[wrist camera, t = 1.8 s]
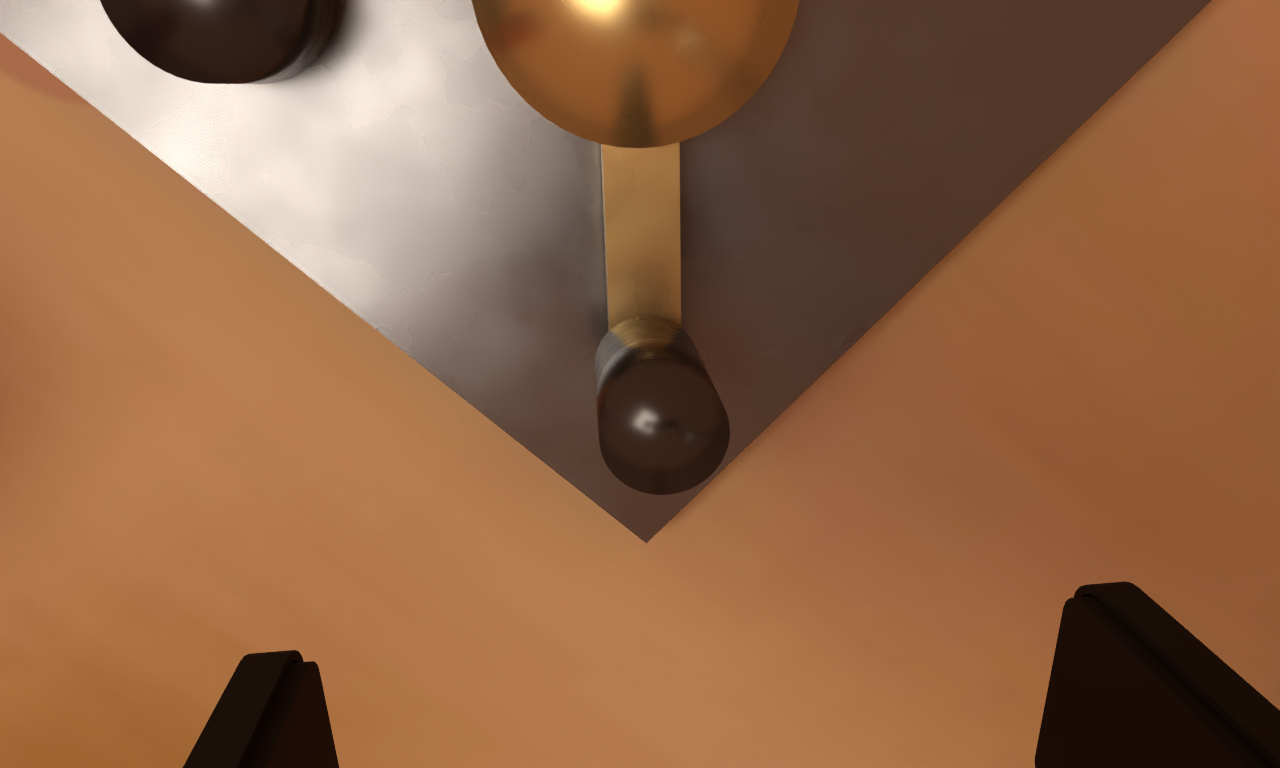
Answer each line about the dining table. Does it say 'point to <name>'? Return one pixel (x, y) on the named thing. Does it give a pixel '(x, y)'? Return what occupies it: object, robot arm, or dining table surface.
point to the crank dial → (643, 190)
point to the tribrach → (597, 179)
